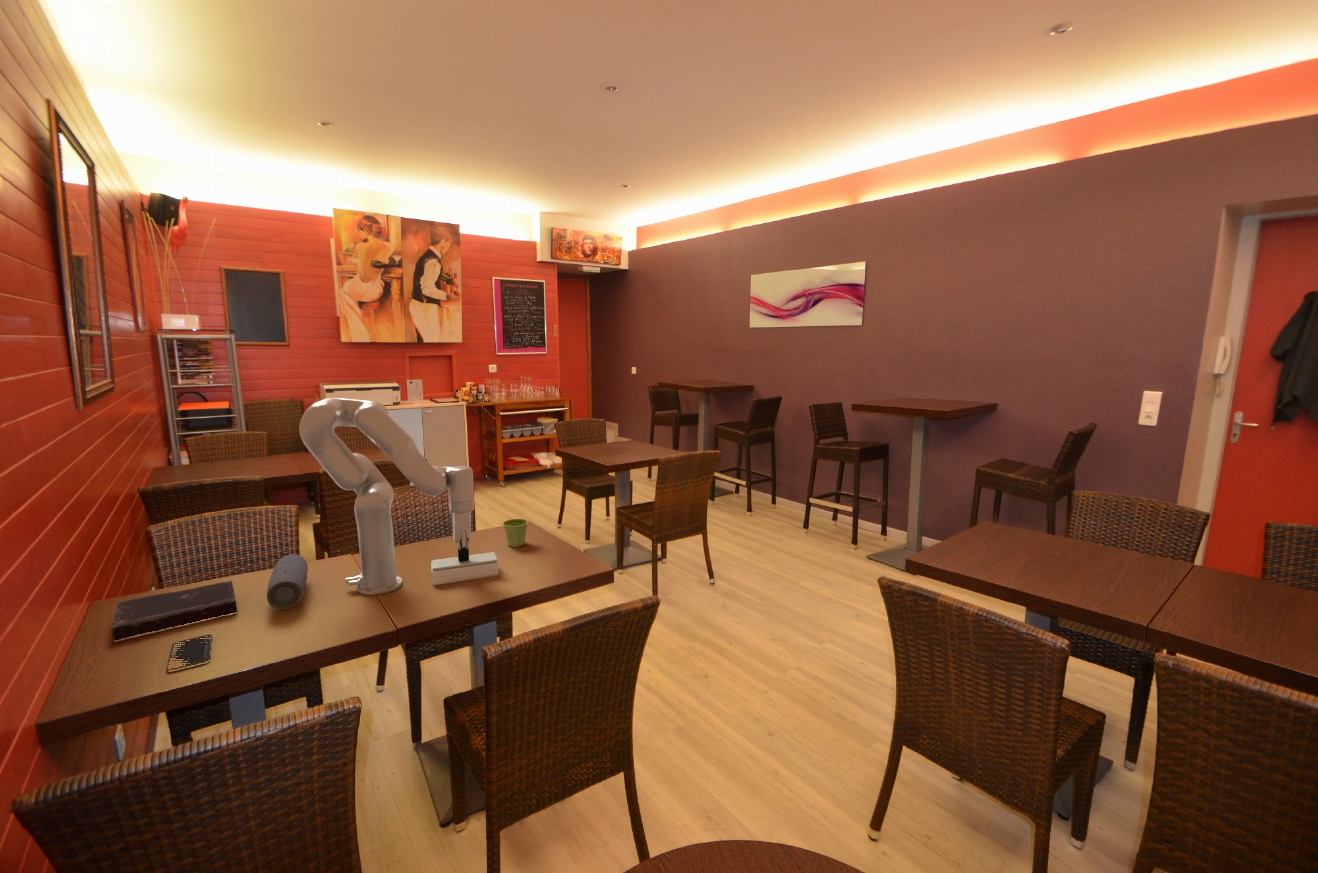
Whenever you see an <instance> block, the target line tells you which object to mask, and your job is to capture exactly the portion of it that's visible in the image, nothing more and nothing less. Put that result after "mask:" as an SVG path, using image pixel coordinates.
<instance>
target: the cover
mask: <svg viewBox="0 0 1318 873" xmlns="http://www.w3.org/2000/svg"><path fill="white" fill-rule="evenodd" d="M497 561H498V557H497V555H496V554H495V551H493V552H492V551H491V552H490V551H489V552H484V553H476V554H469V561H463V562H459V560H458V556H455V557H454V556H453V557H446V558H440V559H433V560H431V562H432V570H439V569H446V568H454V567H461V566H468V565H475V564H482V563H489V562H497ZM432 570H431V571H432Z"/></svg>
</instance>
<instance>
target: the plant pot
mask: <svg viewBox="0 0 1318 873" xmlns="http://www.w3.org/2000/svg"><path fill="white" fill-rule="evenodd" d="M528 524H529V520H528V519H525V518H510V519H508V520H504V521H503V522H502V525H503V528H504V532H505V534H506V541H507V545H509V546H508V547H512V548H518V547H522V546H524V545H525V544H526V536H527V534H526V533H527V527H528Z"/></svg>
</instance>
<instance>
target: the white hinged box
mask: <svg viewBox="0 0 1318 873" xmlns="http://www.w3.org/2000/svg"><path fill="white" fill-rule="evenodd" d="M430 565H431V566H430V568H431V581H432V582H431V584H432V586H437V585H445V584H451V583H457V582H464V581H470V580H477V579H485V578H490V577H497V576H499V575H500V574H499V561H498V560H497V562H489V563H482V564H475V565H468V566H461V567H454V568H446V569H439V570H432V561H431V562H430Z"/></svg>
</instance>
